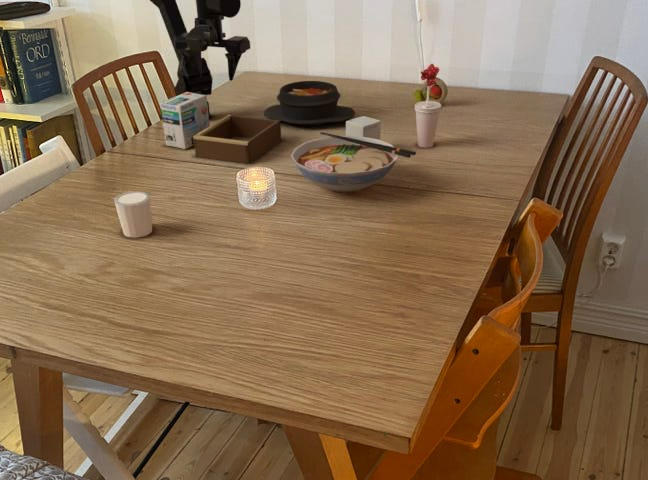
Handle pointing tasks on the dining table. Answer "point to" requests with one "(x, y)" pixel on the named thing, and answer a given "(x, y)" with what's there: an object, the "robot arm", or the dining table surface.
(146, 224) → the shot glass
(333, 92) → the casserole
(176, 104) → the light bulb box
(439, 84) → the multicoloured rounded piece
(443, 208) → the dining table surface
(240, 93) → the dining table surface
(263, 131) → the wooden box
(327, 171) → the ramen bowl
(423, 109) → the smoothie
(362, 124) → the product box
